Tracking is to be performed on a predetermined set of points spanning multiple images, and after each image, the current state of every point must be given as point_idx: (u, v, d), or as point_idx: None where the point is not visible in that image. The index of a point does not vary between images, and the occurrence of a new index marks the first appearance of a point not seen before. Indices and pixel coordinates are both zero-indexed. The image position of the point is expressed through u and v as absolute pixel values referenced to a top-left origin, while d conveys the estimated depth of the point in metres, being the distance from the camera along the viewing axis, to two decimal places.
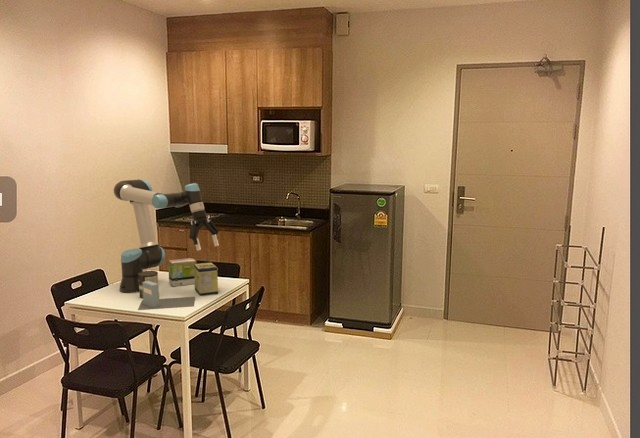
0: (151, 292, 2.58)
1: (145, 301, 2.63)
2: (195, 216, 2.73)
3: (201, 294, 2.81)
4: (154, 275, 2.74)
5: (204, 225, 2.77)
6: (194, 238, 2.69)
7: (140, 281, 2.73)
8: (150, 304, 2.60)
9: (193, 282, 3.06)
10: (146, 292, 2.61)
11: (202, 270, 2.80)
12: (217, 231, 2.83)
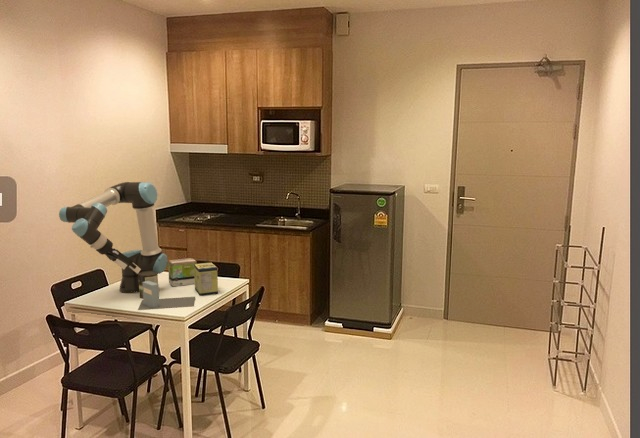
0: (151, 292, 2.58)
1: (145, 301, 2.63)
2: None
3: (201, 294, 2.81)
4: (154, 275, 2.74)
5: (113, 256, 2.44)
6: None
7: (140, 281, 2.73)
8: (150, 304, 2.60)
9: (193, 282, 3.06)
10: (146, 292, 2.61)
11: (202, 270, 2.80)
12: (128, 264, 2.41)
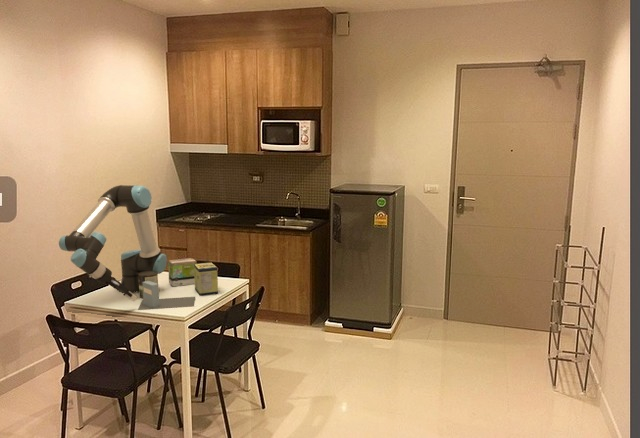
0: (151, 292, 2.58)
1: (145, 301, 2.63)
2: None
3: (201, 294, 2.81)
4: (154, 275, 2.74)
5: (112, 284, 2.45)
6: None
7: (140, 281, 2.73)
8: (150, 304, 2.60)
9: (193, 282, 3.06)
10: (146, 292, 2.61)
11: (202, 270, 2.80)
12: (124, 293, 2.48)
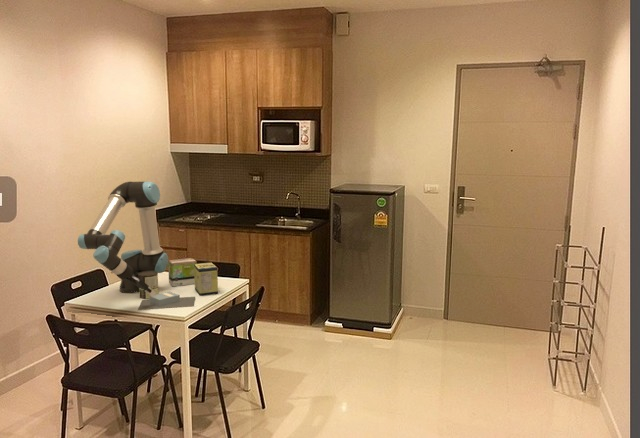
0: (172, 296, 2.67)
1: (154, 296, 2.67)
2: None
3: (201, 294, 2.81)
4: (154, 275, 2.74)
5: None
6: (143, 288, 2.60)
7: None
8: (158, 298, 2.63)
9: (193, 282, 3.06)
10: (164, 294, 2.70)
11: (202, 270, 2.80)
12: (144, 289, 2.55)
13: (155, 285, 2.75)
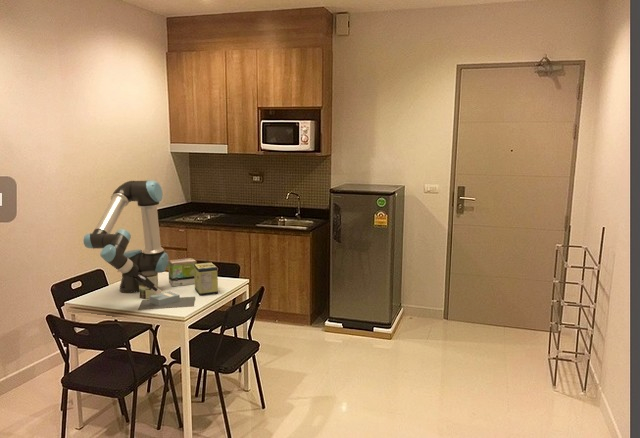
0: (172, 296, 2.67)
1: (154, 296, 2.67)
2: None
3: (201, 294, 2.81)
4: (154, 275, 2.74)
5: None
6: (148, 287, 2.62)
7: None
8: (158, 298, 2.63)
9: (193, 282, 3.06)
10: (164, 294, 2.70)
11: (202, 270, 2.80)
12: (150, 287, 2.58)
13: (155, 285, 2.75)
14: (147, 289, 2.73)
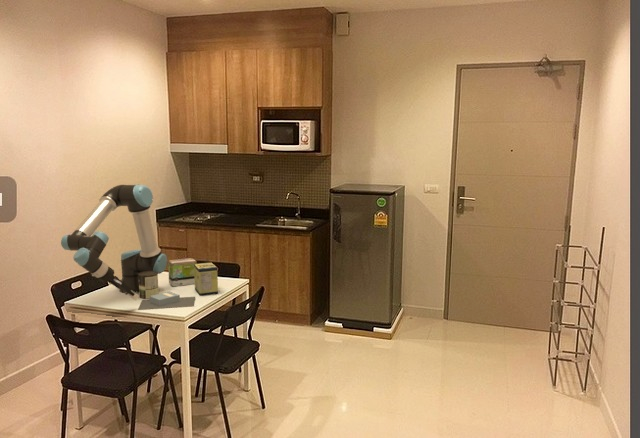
0: (172, 296, 2.67)
1: (154, 296, 2.67)
2: None
3: (201, 294, 2.81)
4: (154, 275, 2.74)
5: None
6: (125, 291, 2.53)
7: (140, 281, 2.73)
8: (158, 298, 2.63)
9: (193, 282, 3.06)
10: (164, 294, 2.70)
11: (202, 270, 2.80)
12: (126, 292, 2.49)
13: (155, 285, 2.75)
14: (147, 289, 2.73)
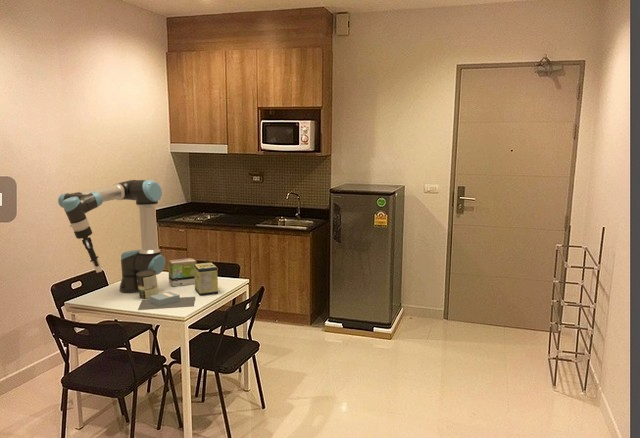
0: (172, 296, 2.67)
1: (154, 296, 2.67)
2: None
3: (201, 294, 2.81)
4: (152, 275, 2.73)
5: None
6: None
7: (139, 281, 2.72)
8: (158, 298, 2.63)
9: (193, 282, 3.06)
10: (164, 294, 2.70)
11: (202, 270, 2.80)
12: (91, 259, 2.43)
13: (154, 284, 2.75)
14: (146, 289, 2.72)
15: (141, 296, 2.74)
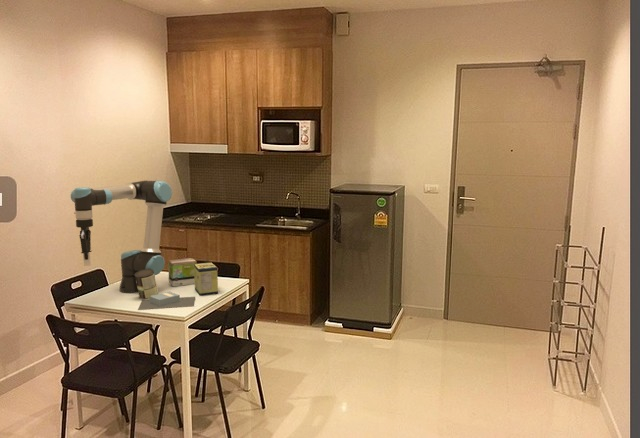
0: (172, 296, 2.67)
1: (154, 296, 2.67)
2: None
3: (201, 294, 2.81)
4: (150, 275, 2.72)
5: None
6: None
7: (137, 282, 2.72)
8: (158, 298, 2.63)
9: (193, 282, 3.06)
10: (164, 294, 2.70)
11: (202, 270, 2.80)
12: (82, 250, 2.45)
13: (153, 284, 2.74)
14: (145, 289, 2.72)
15: (141, 296, 2.74)
